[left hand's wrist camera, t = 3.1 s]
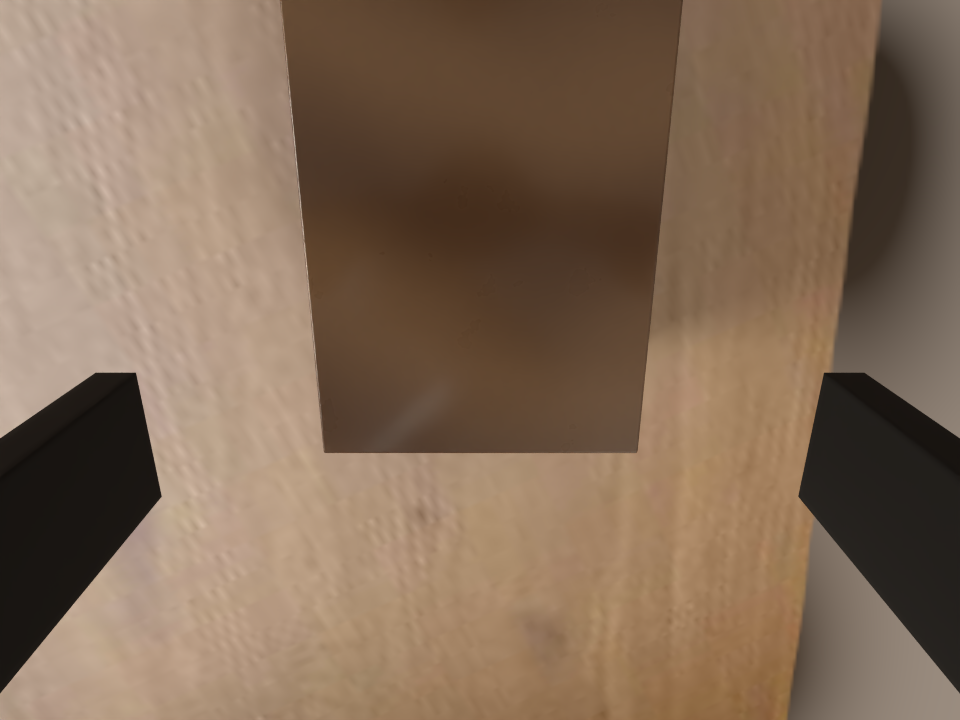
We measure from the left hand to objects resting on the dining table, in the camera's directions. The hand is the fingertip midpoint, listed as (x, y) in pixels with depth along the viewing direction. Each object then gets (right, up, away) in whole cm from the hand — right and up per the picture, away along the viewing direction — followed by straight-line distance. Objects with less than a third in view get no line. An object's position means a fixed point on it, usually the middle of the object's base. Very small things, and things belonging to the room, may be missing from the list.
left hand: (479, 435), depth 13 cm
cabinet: (0, +10, +15) cm, 17 cm away
